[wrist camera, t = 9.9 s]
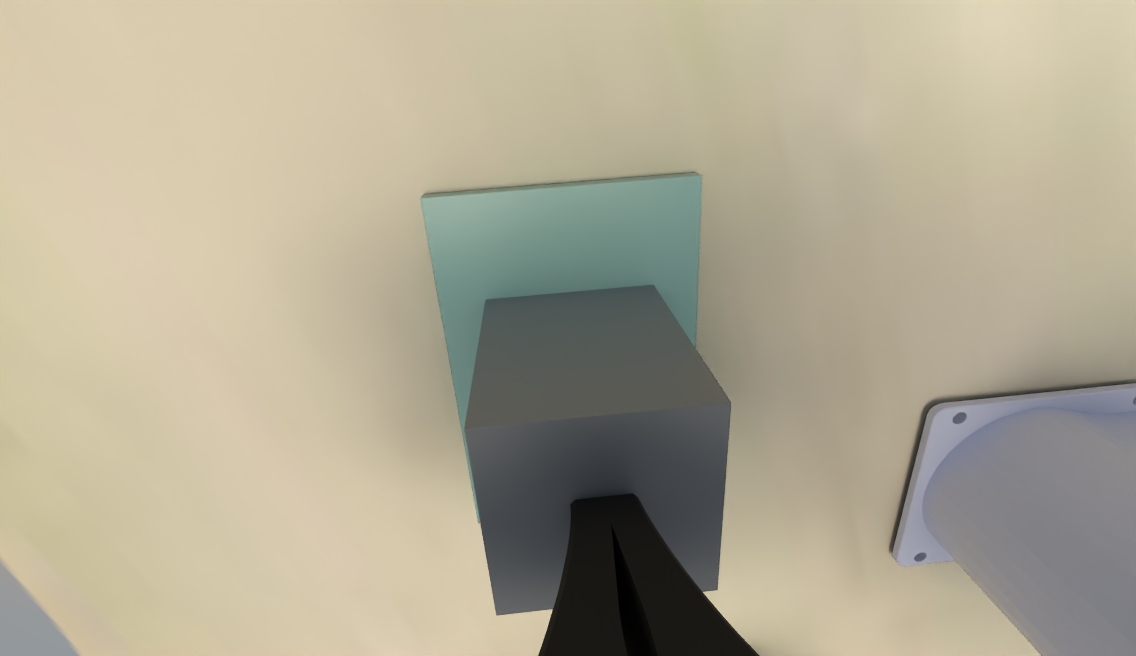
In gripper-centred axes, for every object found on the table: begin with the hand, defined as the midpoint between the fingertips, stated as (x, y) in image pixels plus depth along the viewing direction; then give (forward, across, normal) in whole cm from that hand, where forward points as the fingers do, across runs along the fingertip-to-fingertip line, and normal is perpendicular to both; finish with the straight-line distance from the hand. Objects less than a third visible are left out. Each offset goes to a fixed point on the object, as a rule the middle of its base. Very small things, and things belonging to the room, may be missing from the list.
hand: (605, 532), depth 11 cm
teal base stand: (+8, 0, 0) cm, 8 cm away
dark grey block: (+7, 0, 0) cm, 7 cm away
